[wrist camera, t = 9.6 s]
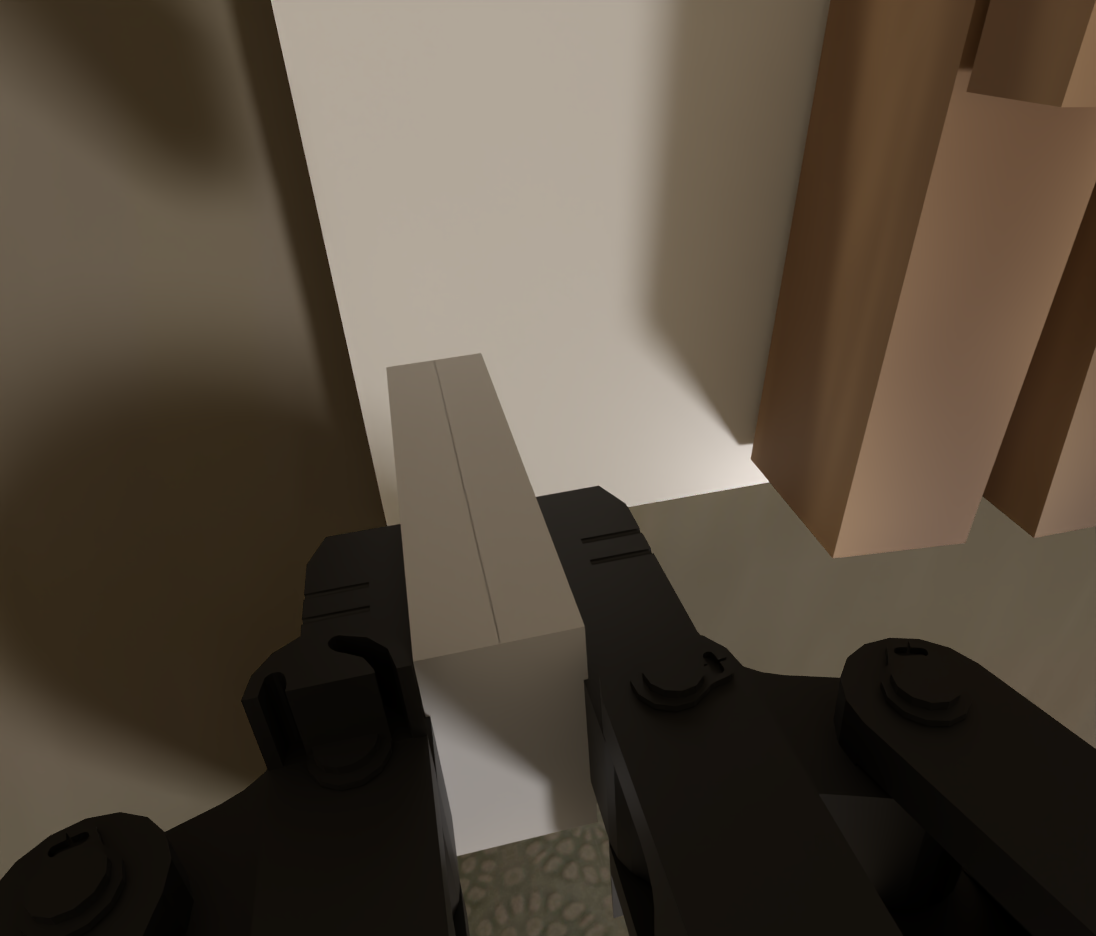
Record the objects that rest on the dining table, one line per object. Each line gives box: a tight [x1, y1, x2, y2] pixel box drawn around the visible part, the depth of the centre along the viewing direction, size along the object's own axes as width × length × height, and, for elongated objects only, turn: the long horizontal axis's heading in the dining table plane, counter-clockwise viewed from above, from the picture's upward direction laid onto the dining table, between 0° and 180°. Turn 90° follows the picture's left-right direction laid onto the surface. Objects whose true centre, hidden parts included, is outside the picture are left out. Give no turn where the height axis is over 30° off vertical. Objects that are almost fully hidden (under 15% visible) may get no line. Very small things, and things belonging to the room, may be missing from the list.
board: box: [271, 0, 830, 526], centre depth 16 cm, size 17×16×1 cm
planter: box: [457, 800, 629, 936], centre depth 21 cm, size 12×12×11 cm
